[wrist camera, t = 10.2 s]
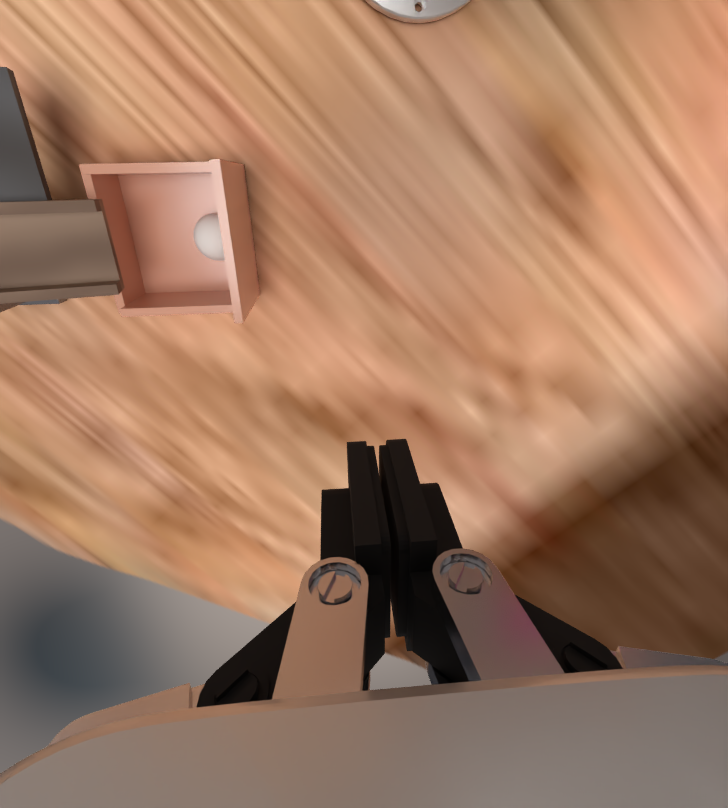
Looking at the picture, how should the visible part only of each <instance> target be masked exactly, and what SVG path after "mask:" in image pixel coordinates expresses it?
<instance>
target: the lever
mask: <svg viewBox="0 0 728 808" xmlns="http://www.w3.org/2000/svg"><path fill="white" fill-rule="evenodd" d="M124 288H125V287H124V283H123V279H122V275H121V271H120V267H119V263H118V260H117V256H116V252H115V248H114V244H113V240H112V236H111V232H110V228H109V225H108V221H107V217H106V213H105V209H104V205H103V201H102V199H78V200H52V198H51V195H50V192H49V188H48V185H47V182H46V178H45V175H44V172H43V169H42V165H41V162H40V159H39V155H38V152H37V149H36V145H35V142H34V139H33V136H32V132H31V129H30V126H29V122H28V119H27V116H26V113H25V109H24V106H23V103H22V99H21V96H20V93H19V89H18V86H17V83H16V80H15V76H14V73H13V71H12V70H10V69H8V68H7V67H0V304H4V303H17V302H29V301H42V300H55V299H68V298H81V297H94V296H106V295H119V294H120V293H121V291H122V290H123V289H124Z"/></svg>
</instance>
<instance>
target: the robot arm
mask: <svg viewBox="0 0 728 808" xmlns="http://www.w3.org/2000/svg"><path fill="white" fill-rule="evenodd" d="M365 1H366V2H367V3H368V4H370V5H371V6H372V7H373V8H374V9H376V10H378V11H379V12H381V13H383V14H384V15H386V16H388V17H390V18H393V19H397V20H400V21H403V22H411V23H425V22H431V21H436V20H440V19H442V18H444V17H446V16H449V15H451V14H453V13H455V12H456V11H458V10H459V9H461V8H462V7H463V6H465V5H466V4H468V3H469V2H470V1H471V0H365ZM417 4H419V5H420V6H421V11H420V12H417V11H416V10H415V5H417ZM347 460H348V484H349V488H345V489H328V490H322V502H321V560H320V561H318V562H317V563H315V564H314V565H312V566H311V567H310V568H309V569H308V570H307V571H306V572H305V574H304V576H303V578H302V581H301V584H300V588H299V592H298V597H297V601H296V602H295V603H294V604H293V605H292V606H291V607H290V608H288V609H287V610H286V611H285V612H284V613H283V614H281V615H280V616H279V617H278V618H277V619H276V620H274V621H273V622H272V623H271V624H270V625H269V626H268V627H266V628H265V629H264V630H263V631H262V632H261V633H259V634H258V635H257V636H256V637H255V638H254V639H252V640H251V641H250V642H249V643H248V644H247V645H246V646H245V647H243V648H242V649H241V650H240V651H239V652H238V653H236V654H235V655H234V656H233V657H232V658H230V659H229V660H228V661H227V662H226V663H225V664H223V665H222V666H221V667H220V668H219V669H218V670H216V671H215V673H214V674H213V675H212V676H211V677H210V678H209V679H208V680H207V681H206V683H205V684H203V685H200V686H197V687H194V688H191V686H190V683H188V684H184V685H181V686H178V687H174V688H171V689H168V690H165V691H162V692H159V693H155V694H152V695H149V696H145V697H142V698H139V699H136V700H132V701H129V702H126V703H123V704H120V705H116V706H113V707H110V708H107V709H103V710H100V711H97V712H94V713H91V714H87V715H85V716H83V717H81V718H79V719H77V720H75V721H72V722H71V723H70V724H69V725H67V726H66V727H65V728H64V729H63V730H61V731H60V732H59V733H58V734H57V735H56V736H55V738H54V739H53V740H52V741H51V742H50V744H49V745H48V746H47V747H46V748H44V749H42V750H40V751H37V752H35V753H33V754H32V755H30V756H28V757H26V758H25V759H23V760H21V761H19V762H18V763H16V764H14V765H13V766H11V767H10V768H8V769H7V770H5V771H3V772H2V773H0V808H728V663H726V662H722V661H718V660H715V659H709V658H701V657H694V656H686V655H679V654H672V653H664V652H657V651H649V650H642V649H635V648H627V647H620V646H618V649H617V652H615V651H610V650H609V649H608V648H607V647H605V646H604V645H603V644H601V643H600V642H598V641H597V640H595V639H594V638H592V637H590V636H588V635H587V634H585V633H583V632H581V631H579V630H578V629H576V628H574V627H572V626H570V625H569V624H567V623H565V622H563V621H561V620H560V619H558V618H556V617H554V616H552V615H551V614H549V613H547V612H545V611H543V610H542V609H540V608H538V607H536V606H534V605H533V604H531V603H529V602H527V601H525V600H524V599H522V598H520V597H518V596H516V595H515V594H514V593H513V592H512V590H511V588H510V587H509V585H508V584H507V582H506V581H505V579H504V578H503V576H502V574H501V573H500V571H499V570H498V568H497V567H496V566H495V564H494V563H493V562H492V561H491V560H490V559H489V558H487V557H486V556H484V555H483V554H481V553H479V552H476V551H474V550H469V549H463V548H462V545H461V543H460V540H459V537H458V534H457V532H456V529H455V526H454V524H453V521H452V518H451V516H450V513H449V510H448V508H447V505H446V502H445V499H444V497H443V494H442V491H441V489H440V486H439V484H438V483H426V484H420V482H419V479H418V476H417V472H416V469H415V466H414V463H413V460H412V456H411V453H410V450H409V447H408V443H407V440H406V439H396V440H387V441H386V445H380V446H379V472H378V467H377V461H376V455H375V450H374V446H367V445H366V441H360V442H347ZM390 601H391V605H392V611H393V618H394V624H395V631H396V636H397V637H401V636H405V642H406V648H407V651H413V652H414V653H416V654H417V655H418V656H420V657H421V658H422V659H424V660H425V661H426V668H427V673H428V676H429V679H430V681H431V684H432V685H424V686H414V687H402V688H391V689H380V690H370V670H371V669H372V668H373V666H374V665H375V664H376V663H377V662H378V661H379V659H380V658H381V657H382V656H383V655H384V654H385V638H388V637H390Z"/></svg>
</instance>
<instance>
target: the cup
mask: <svg viewBox="0 0 728 808" xmlns="http://www.w3.org/2000/svg"><path fill="white" fill-rule="evenodd" d="M209 160H210V162H166V163H108V164H81V165H79V168H80V171H81V175H82V179H83V182H84V186H85V190H86V193H87V197H88V199H102V201H103V205H104V209H105V213H106V217H107V221H108V225H109V228H110V232H111V236H112V240H113V244H114V248H115V252H116V256H117V260H118V263H119V267H120V271H121V275H122V279H123V283H124V287H125V288H124V289H123V290H122V291H121V293H120V294H119V295H114V297H115V301H116V305H117V308H118V312H119V314H121V317H130V316H157V315H184V314H211V313H233V317H234V323H243V322H244V321H245V319H246V317H247V316H248V314H249V312H250V311H251V309H252V307H253V306H254V304H255V302H256V301H257V299H258V297H259V296H260V289H259V281H258V273H257V265H256V257H255V249H254V241H253V232H252V224H251V216H250V208H249V200H248V192H247V184H246V175H245V167H244V165H243V164H239V163H234V162H230V161H225V160H221V159H209ZM213 213H216V214H218V218H219V225H220V232H221V238H222V245H223V251H224V258H225V260H223V261H216V260H212V259H209V258H207V257H206V256H204V255H203V254H202V253H201V252H200V251H199V250H198V248H197V246H196V244H195V241H194V228H195V225H196V223H197V222H198V221H199V219H201V218H202V217H203V216H205V215H208V214H213Z"/></svg>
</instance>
